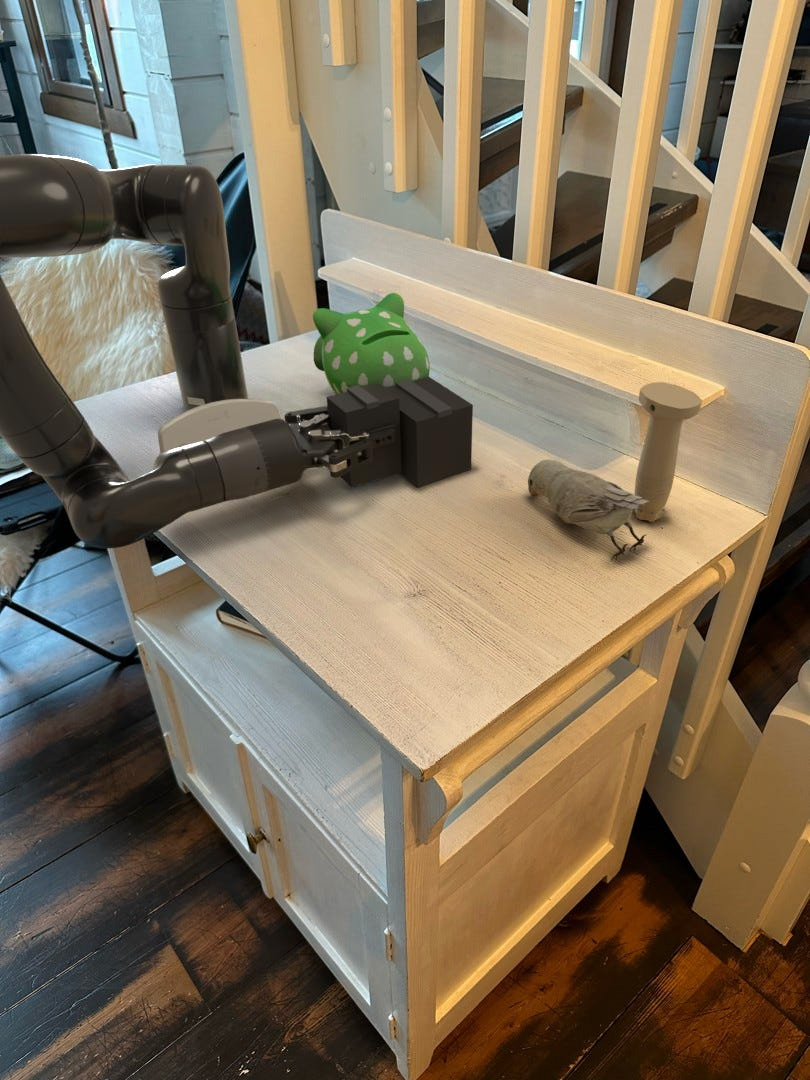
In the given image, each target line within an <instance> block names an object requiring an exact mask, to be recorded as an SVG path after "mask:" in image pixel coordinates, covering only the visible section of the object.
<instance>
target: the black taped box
mask: <svg viewBox="0 0 810 1080" xmlns="http://www.w3.org/2000/svg"><path fill="white" fill-rule="evenodd" d="M386 389H387V390H389V391H390V392H391V393H393V394H394V395H396V396H397V397H398V398H399V408H400V441H401V472H400V473H399V474H401V475H402V476H403V477H404V478H405V479H407V480H408V481H409V482H410V483H411V484H413V485H414V486H415V487H416V488H421V487H423V486H426V485H429V484H432V483H436V482H438V481H441V480H443V479H446V478H449V477H452V476H456V475H459V474H461V473H465V472H467V471H470V470H472V453H473V451H472V448H473V416H474V415H473V413H474V411H473V410H474V405H473V404H472V403H470V402H469V401H468V400H466V399H464V398H463V397H461V396H460V395H459V394H457V393H455V392H453V391H452V390H450V389H449V388H447V387H446V386H444V385H443V384H441V383H440V382H438V381H436V380H435V379H433V378H432V377H431V376H429V377H425V378H422V379H418V380H414V381H411V380H409V379H407V380H403V381H400V382H396V383H395V386H393V387H389V388H386Z"/></svg>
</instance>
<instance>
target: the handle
mask: <svg viewBox="0 0 810 1080" xmlns="http://www.w3.org/2000/svg"><path fill="white" fill-rule="evenodd" d="M638 393H639V394H638V401H639V403H640V404H641V406H642V408H643V409H644V410H645V411H646V412H647V413H648V414H649V419H648V423H647V428H646V433H645V437H644V441H643V445H642V449H641V453H640V458H639V461H638V465H637V470H636V475H635V482H634V495H636V496H639V497H642V498H640V499H643V500H647V501H649V502H646V503H644V504H645V505H644V506H643V505H639V506H638V507H637V509H633V512H634V513H635V517H636V518H637V519H638V520H644V521H647V522H650V523H653V522H655V521H657V520H660V519H662V518H663V515H664V513H665V511H666V509H665V507H666V505H667V503H668V500H669V498H670V494H671V492H672V487H673V484H674V479H675V474H676V466H677V459H678V452H679V445H680V437H681V432H682V431H681V430H682V425H683V422H684V420H688V419H691V418H693V417H695V416H697V415H698V414H699V413H700V411H701V407H702V402H703V400H702V398H701V397H700V396H699V395H698V394H696V393H695V392H694V391H692V390H690V389H687V388H685V387H684V386H681V385H677V384H673V383H670V382H669V383H668V382H663V381H658V382H650V383H646V384H645V385H643V386H641V387H640V389H639V392H638Z"/></svg>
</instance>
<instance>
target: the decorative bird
mask: <svg viewBox="0 0 810 1080" xmlns="http://www.w3.org/2000/svg"><path fill="white" fill-rule="evenodd" d="M527 485H528V486H527V487H528V492H529V494H530V496H531V497H539V496H542V497H544V498H545V499H547V502H548V503H549V505H550V506H551V507H552V508H553V509H554V510H555V512H556V513H557V515H558V517H559V518H560V519H561V520H562V521H563V523H566V524H574V525H575V526H579V527H581V528H583V529H586V530H588V531H592V532H595V533H597V534H601V535H607V536H608V537H609V538H610V540H611V542H612V544H613V545H614V547H615V548H616V549H617V550H618V552H616V553H615V554H613V555H612V557H611V558H610V562H612V561H613V559H614V558H615V560H616V561H618V557H619V556H625V552H626V547H627V546H628V545H630V543H626V544H624V545H622V547H621V546H620V545H619V544H618V543H617V542H616V539H615V536H614V533H613V532H615V531H617V530H618V529H620V527H622V526H623V525H624V526H625V527H627V528H628V529H629V532H630V534H631V535H632V537H633V538H634V539H635V540H636V541H637V542H635V543H633V544H632V545H631V547H630V548H629V553H630V552H631V550H632V549H633V551H636V548H637V547H638V546H641V547H643V543H645V539H644V538H645V537H646V536H647V534H644V535H641V537H640V538H639V537H638V536H637V535H636V534H635V532H634V529H633V526H632V524H631V521H630V520H629V518H630V516H631V515H632V513H633V510H634V509H637V507H638V506H639V505H643V506H644V505H645V504H644V503H646V502H649V501H647V500H643V499H640V498H642V497H639V496H636V495H635V494H634V493H633V492H630V491H627V490H624V489H623V488H622V487H621V486H619V485H617V484H616V483H614V482H611V481H608V480H606V479H604V478H602V477H600V476H597V475H596V474H593V473H590V472H586V471H582V470H578V469H573V468H571V467H569V466H567V465H566V464H564V463H562V462H560V461H558V460H556V459H542V460H540V461H539V462H538V463H536V464H535V465H534V466H533V467H532V469H531V470H530V472H529V475H528V478H527Z"/></svg>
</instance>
